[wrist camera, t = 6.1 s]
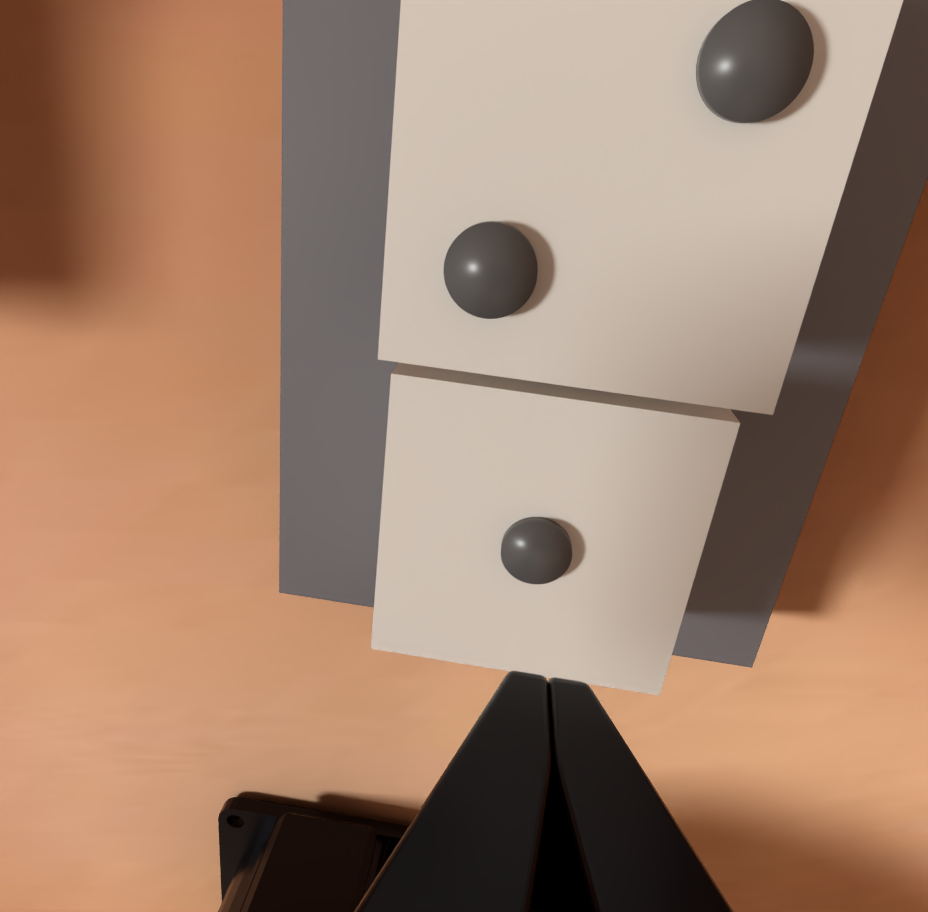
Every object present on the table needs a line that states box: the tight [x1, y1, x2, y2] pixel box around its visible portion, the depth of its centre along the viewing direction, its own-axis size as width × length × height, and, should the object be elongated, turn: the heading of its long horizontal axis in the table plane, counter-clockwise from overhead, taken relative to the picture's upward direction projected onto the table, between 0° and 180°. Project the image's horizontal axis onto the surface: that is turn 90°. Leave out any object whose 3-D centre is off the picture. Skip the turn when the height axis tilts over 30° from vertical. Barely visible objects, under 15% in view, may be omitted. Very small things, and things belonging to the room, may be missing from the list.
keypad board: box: [279, 0, 928, 667], centre depth 12 cm, size 18×10×2 cm, turn 173°
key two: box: [378, 0, 903, 415], centre depth 9 cm, size 5×5×2 cm
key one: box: [371, 362, 740, 696], centre depth 12 cm, size 5×5×2 cm
